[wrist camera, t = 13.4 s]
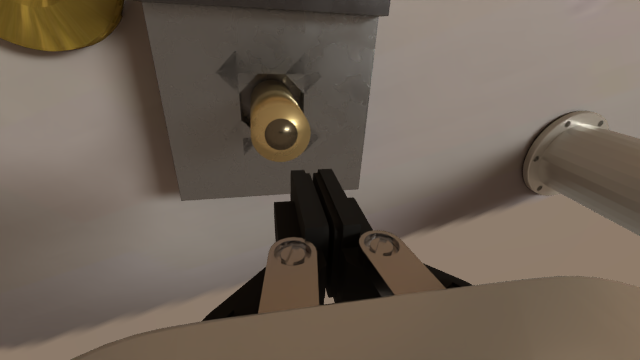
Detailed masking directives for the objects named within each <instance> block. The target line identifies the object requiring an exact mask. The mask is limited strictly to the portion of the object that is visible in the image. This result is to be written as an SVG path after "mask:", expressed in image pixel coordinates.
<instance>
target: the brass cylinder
mask: <svg viewBox="0 0 640 360" xmlns="http://www.w3.org/2000/svg"><path fill="white" fill-rule="evenodd" d="M250 113H251V140H252V143H253V146H254V148H255V149H256V150H257V152H258V153H259V154H260V155H261V156H263V157H264V158H266V159H268V160H271V161H275V162H286V161H290V160H293V159H295V158H296V157H298V156H299V155H301V154H302V153H303V152H304V150H305V149H306V148H307V146H308V144H309V141H310V135H311V131H310V125H309V123H308V120H307V119H306V117H305V115H304V114H303V112H302V110H301V109H300V107H299V106H298V104H297V102H296V101H295V99H294V98H293V96H292V94H291V93H290V91H289V89H288V88H287V87H286V86H285V85H284V84H282V83H281V82H279V81H275V80H266V81H263V82H261V83H259V84H258V85H257V86H256V87H255V88H254V89H253V91H252V94H251V98H250Z"/></svg>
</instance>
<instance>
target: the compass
mask: <svg viewBox="0 0 640 360" xmlns="http://www.w3.org/2000/svg"><path fill="white" fill-rule="evenodd" d="M123 5H124V0H0V38H2V39H4V40H7V41H9V42H11V43H14V44H17V45H20V46H23V47H27V48H31V49H36V50H43V51H65V50H73V49H79V48H83V47H87V46H91V45H94V44H96V43H98V42H100V41H102V40H103V39H105V38H106V37H107V36H108V35H109V34H110V33H112V32H113V31H114V29H115V28H116V26H117V25H118V24H119V22H120V20H121V18H122V15H121V12H122V9H123Z"/></svg>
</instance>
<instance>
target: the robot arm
mask: <svg viewBox="0 0 640 360" xmlns="http://www.w3.org/2000/svg"><path fill="white" fill-rule="evenodd" d="M523 178H524V181H525V184H526V185H527V187H528V188H529V189H531V190H532V191H534V192H535V193H537V194H540V195H544V196H552V195H557V194H563V195H564V196H566V197H568V198H570V199H572V200H574V201H576V202H578V203H580V204H581V205H583V206H585V207H587V208H589V209H591V210H593V211H594V212H596V213H598V214H600V215H602V216H604V217H605V218H607V219H609V220H611V221H613V222H615V223H617V224H618V225H620V226H622V227H624V228H626V229H628V230H630V231H632V232H634V233H635V234H637V235H639V236H640V139H638V138H635V137H631V136H628V135H624V134H621V133H617V132H614V131H610V130H609V125H608V123H607V121H606V119H605V118H604V117H603V116H602V115H599V114H597V113H594V112H589V111H577V112H572V113H569V114H567V115H565V116H563V117H561V118H559V119H558V120H556V121H554V122H553V123H552V124H551V125H549V126H548V127H547V128H546V129H545V130H544V131H543V132H542V133H541V134H540V135H539V136H538V137H537V139H536V140H535V141H534V143H533V144H532V146H531V148H530V149H529V151H528V153H527V156H526V158H525V162H524V165H523ZM290 185H291V201H288V202H274V219H275V238H276V243H274V244H273V245H272V246H271V248H270V250H269V253H268V259H267V265H266V267H265V268H264V269H263V270H262V271H260V272H259V273H258V274H257V275H256V276H254V277H253V278H252V279H251V280H249V281H248V282H247V283H246V284H245V285H243V286H242V287H241V288H240V289H239V290H237V291H236V292H235V293H234V294H233V295H231V296H230V297H229V298H228V299H226V300H225V301H224V302H223V303H222V304H220V305H219V306H218V307H217V308H215V309H214V310H213V311H212V312H211V313H209V314H208V315H207V316H206V317H205V318H204V319H203V321H202V322H196V323H190V324H185V325H178V326H172V327H167V328H162V329H157V330H153V331H149V332H144V333H141V334H136V335H133V336H130V337H127V338H123V339H121V340H117V341H114V342H111V343H108V344H105V345H103V346H101V347H98V348H96V349H94V350H91V351H89V352H87V353H85V354H82V355H80V356H78V357H75V358H73V359H71V360H640V287H637V286H634V285H630V284H626V283H623V282H618V281H613V280H608V279H603V278H596V277H584V276H554V277H544V278H532V279H522V280H514V281H505V282H497V283H489V284H481V285H471V284H470V283H468V282H466V281H463V280H461V279H459V278H456V277H454V276H452V275H449V274H447V273H445V272H442V271H440V270H438V269H435V268H433V267H430V266H428V265H425V264H423V263H422V262H421V261H420V260H419V259H418V258H417V257H416V255H415V254H414V253H413V252H412V251H411V250H410V249H409V248H408V247H407V246H406V245H405V244H404V242H403V241H402V240H401V239H399V238H398V237H397V236H396V235H394V234H392V233H389V232H386V231H380V230H374V231H373V230H372V228H371V226H370V224H369V223H368V221H367V219H366V217H365V216H364V214H363V212H362V211H361V209H360V207H359V205H358V204H357V202H356V200H355V199H354V198H347V196H346V194H345V193H344V191H343V189H342V187H341V185H340V183H339V181H338V180H337V178H336V176H335V174H334V172H333V170H332V169H318V172H317V173H313V181H312V178H311V175H310V173H305V170H291V174H290ZM325 287H326V291H327V295H328V297H329V298H330V297H333V298H334V301H335V303H332V304H325V305H324V298H325Z"/></svg>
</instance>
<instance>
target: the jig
mask: <svg viewBox="0 0 640 360" xmlns="http://www.w3.org/2000/svg"><path fill="white" fill-rule="evenodd" d="M135 1H140V2H142V6H143V11H144V16H145V21H146V26H147V31H148V36H149V41H150V46H151V51H152V56H153V61H154V66H155V71H156V76H157V81H158V86H159V91H160V96H161V101H162V106H163V111H164V116H165V121H166V126H167V131H168V136H169V141H170V146H171V151H172V156H173V161H174V166H175V171H176V176H177V181H178V186H179V191H180V196H181V201H186V200H201V199H216V198H231V197H246V196H261V195H276V194H291V185H290V174H291V170H305V173H310V175H311V178H312V181H313V173H317V172H318V169H332V170H333V172H334V174H335V176H336V178H337V180H338V181H339V183H340V185H341V187H342V189H343V190H352V189H358V187H359V179H360V170H361V162H362V153H363V145H364V136H365V128H366V119H367V111H368V102H369V94H370V85H371V77H372V68H373V60H374V51H375V43H376V34H377V26H378V17H379V16H388V15H389V7H390V0H135ZM266 80H275V81H279V82H281V83H282V84H284V85H285V86H286V87H287V88H288V89H289V91H290V93H291V94H292V96H293V98H294V99H295V101H296V102H297V104H298V106H299V107H300V109H301V110H302V112H303V114H304V115H305V117H306V119H307V120H308V123H309V125H310V131H311V135H310V141H309V144H308V146H307V148H306V149H305V150H304V152H303V153H302V154H301V155H299V156H298V157H296V158H295V159H293V160H290V161H286V162H275V161H271V160H268V159H266V158H264V157H263V156H261V155H260V154H259V153H258V152H257V150H256V149H255V148H254V146H253V143H252V140H251V113H250V98H251V94H252V91H253V89H254V88H255V87H256V86H257V85H258V84H259V83H261V82H263V81H266Z"/></svg>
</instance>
